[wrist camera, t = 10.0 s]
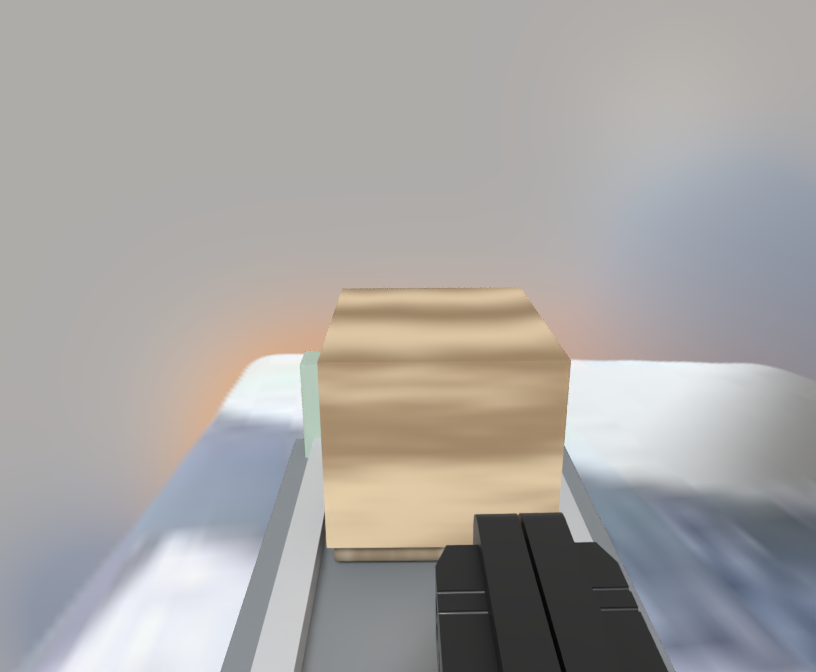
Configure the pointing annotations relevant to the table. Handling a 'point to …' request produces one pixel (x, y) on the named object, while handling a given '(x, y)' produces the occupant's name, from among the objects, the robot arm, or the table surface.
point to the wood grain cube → (436, 417)
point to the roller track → (354, 579)
